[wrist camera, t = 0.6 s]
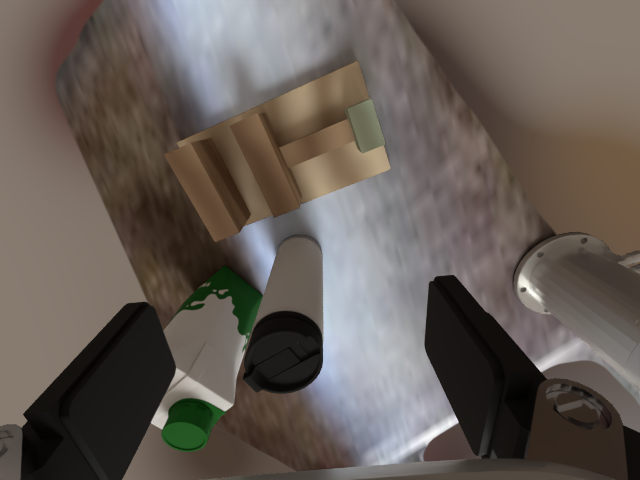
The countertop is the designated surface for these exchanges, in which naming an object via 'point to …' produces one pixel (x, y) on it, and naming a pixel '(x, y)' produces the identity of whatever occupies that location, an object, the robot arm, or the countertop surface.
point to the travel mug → (289, 321)
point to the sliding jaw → (300, 150)
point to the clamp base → (289, 125)
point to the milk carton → (206, 358)
